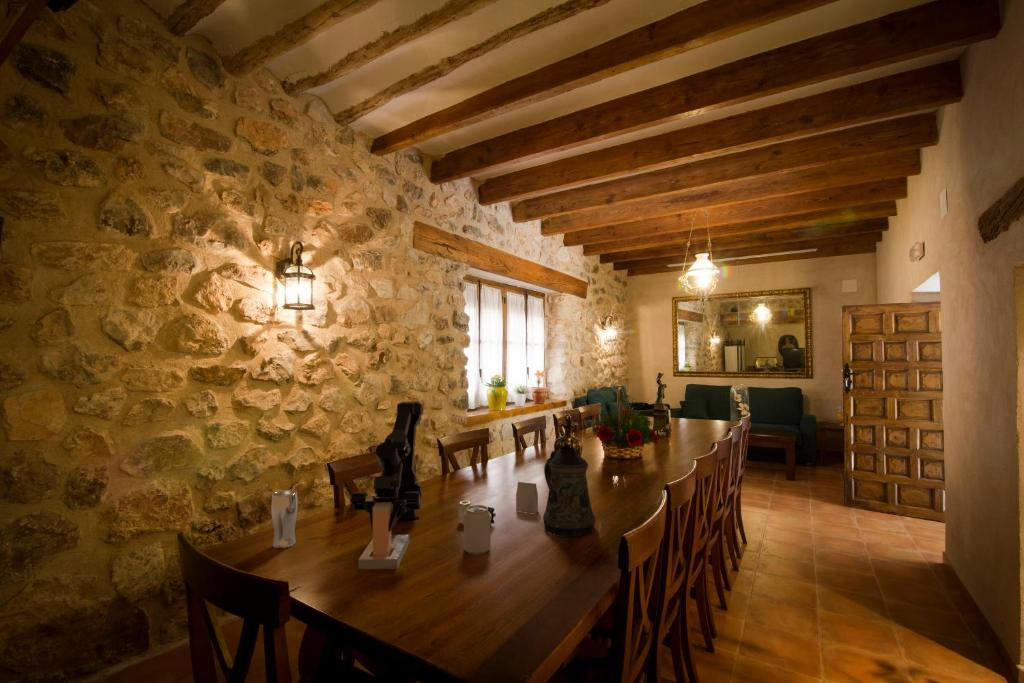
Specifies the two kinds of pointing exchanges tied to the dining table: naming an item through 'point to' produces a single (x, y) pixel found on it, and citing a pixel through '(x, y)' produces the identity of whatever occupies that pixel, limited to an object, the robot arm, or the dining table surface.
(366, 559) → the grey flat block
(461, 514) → the valve
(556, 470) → the beer stein
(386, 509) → the square peg
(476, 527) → the can
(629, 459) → the dining table surface
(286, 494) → the beer glass
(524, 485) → the tea bag
